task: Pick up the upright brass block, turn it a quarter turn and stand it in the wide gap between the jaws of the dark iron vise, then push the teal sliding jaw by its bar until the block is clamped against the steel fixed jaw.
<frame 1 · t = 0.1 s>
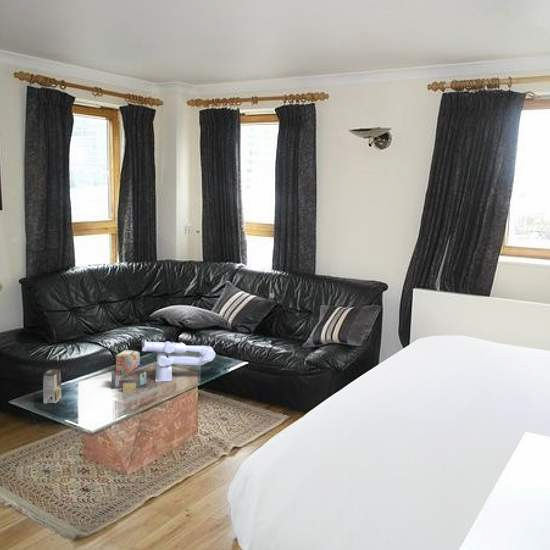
hand: (129, 345, 350), 22 cm above the table, tool horizontal, fingers open, 7 cm apart
brass block: (129, 391, 336), on the table
coffee box: (52, 401, 317), on the table
vise: (129, 384, 347), on the table
stack of blocks: (128, 370, 374), on the table
sliding jaw: (143, 377, 348), point 4 cm above the table, slide at 0.0 cm
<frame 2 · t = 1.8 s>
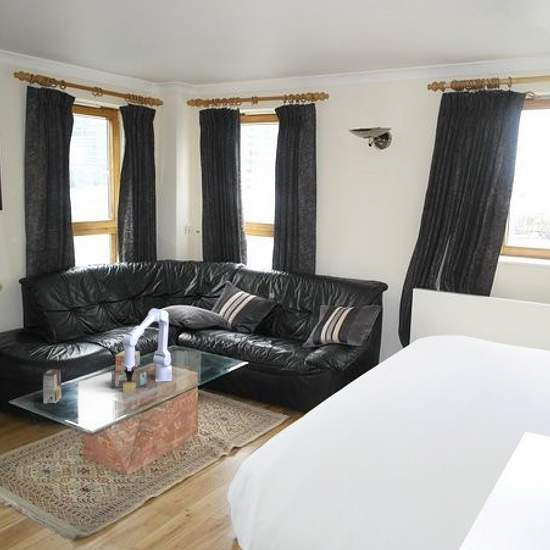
hand: (129, 379, 335), 7 cm above the table, tool pointing down, fingers open, 7 cm apart
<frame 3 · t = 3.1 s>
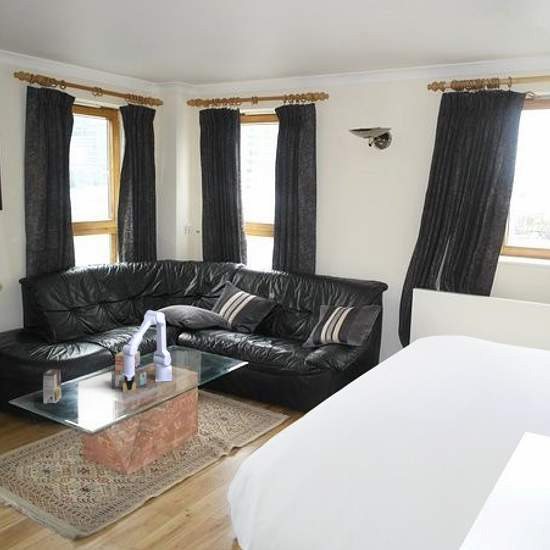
hand: (129, 388, 336), 1 cm above the table, tool pointing down, fingers closed on brass block, 3 cm apart
brass block: (129, 391, 336), on the table, touching gripper
everything else where it was.
when the fingers open (3 cm above the table, at t = 6.0 s): brass block stays where it is, resting on vise.
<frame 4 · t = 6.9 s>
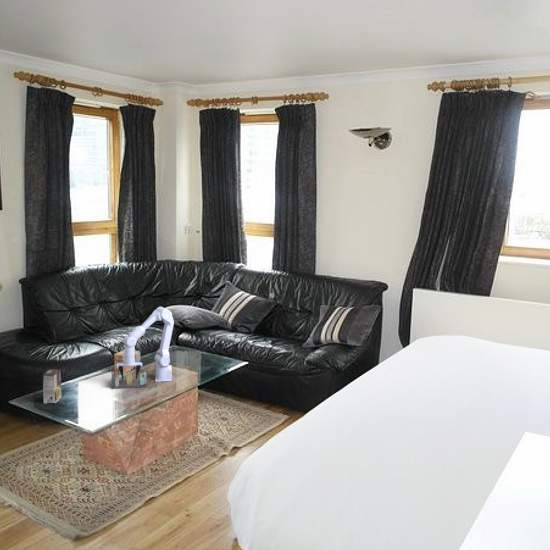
hand: (129, 378, 346), 4 cm above the table, tool pointing down, fingers open, 7 cm apart
brass block: (129, 382, 347), point 1 cm above the table, touching vise
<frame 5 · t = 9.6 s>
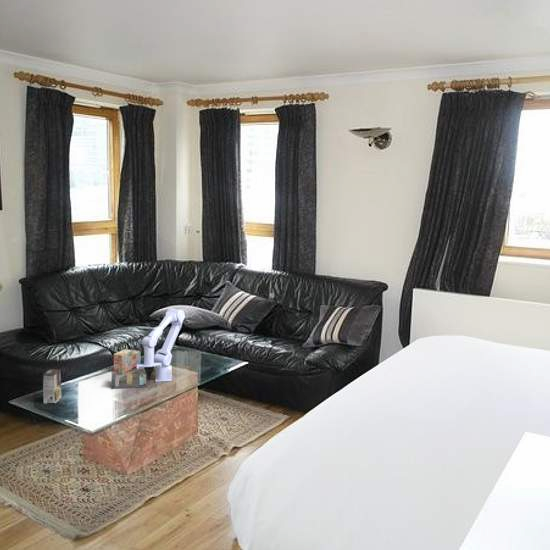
hand: (148, 379, 349), 3 cm above the table, tool pointing down, fingers closed
sliding jaw: (142, 377, 348), point 4 cm above the table, slide at 0.4 cm, touching gripper
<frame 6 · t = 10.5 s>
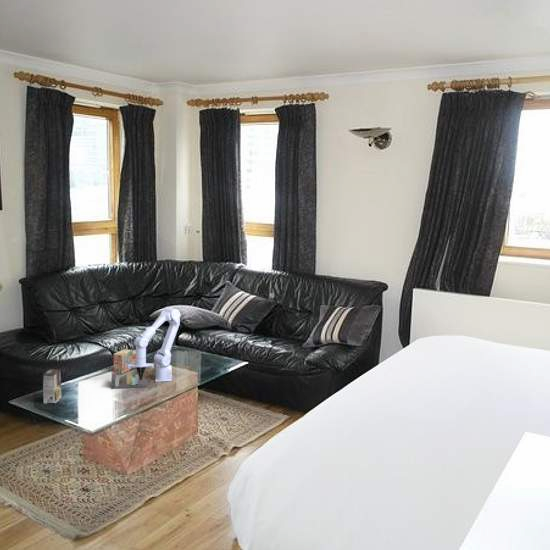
hand: (140, 379, 348), 3 cm above the table, tool pointing down, fingers closed
brass block: (129, 382, 347), point 1 cm above the table, touching sliding jaw
sliding jaw: (134, 378, 347), point 4 cm above the table, slide at 4.7 cm, touching brass block, gripper
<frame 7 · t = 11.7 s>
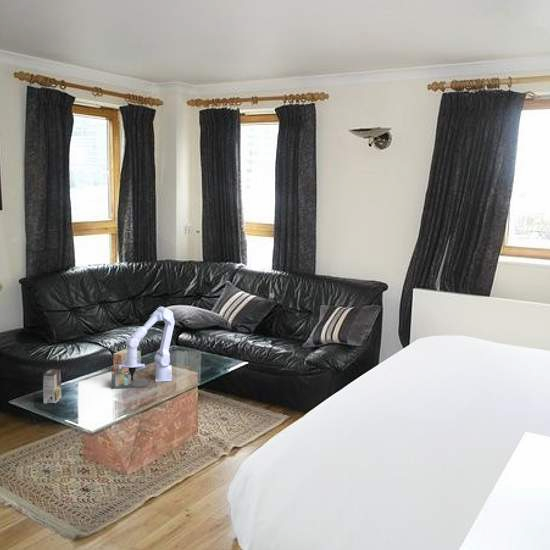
hand: (132, 379, 346), 3 cm above the table, tool pointing down, fingers closed
brass block: (121, 383, 346), point 1 cm above the table, touching sliding jaw, vise
sliding jaw: (127, 378, 346), point 4 cm above the table, slide at 9.0 cm, touching brass block, gripper
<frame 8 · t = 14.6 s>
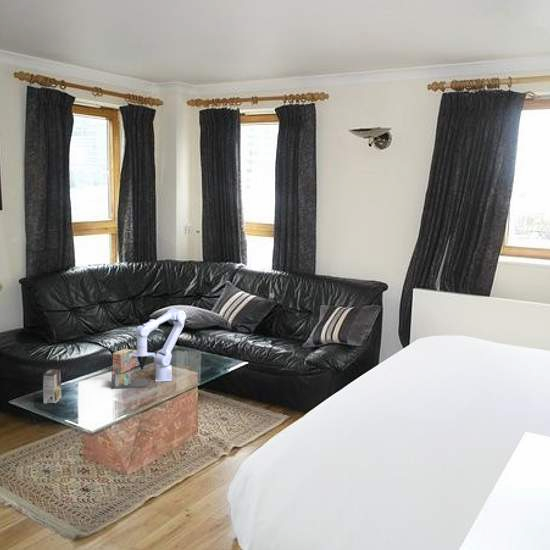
hand: (141, 368, 347), 9 cm above the table, tool pointing down, fingers closed
sliding jaw: (127, 378, 346), point 4 cm above the table, slide at 9.0 cm, touching brass block
at the end: sliding jaw slide at 9.0 cm; brass block 0.3 cm from the target spot on the vise, point 1.0 cm above the vise's base; brass block tilted 0° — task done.
